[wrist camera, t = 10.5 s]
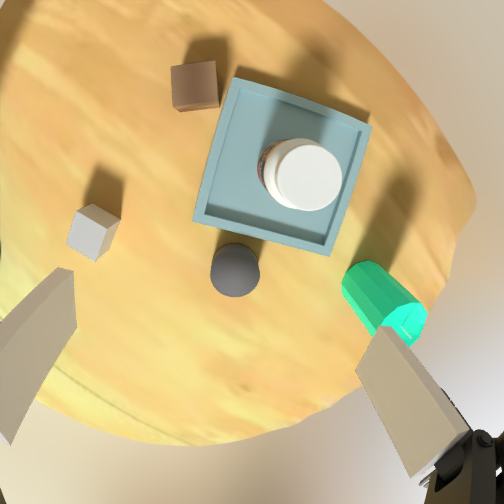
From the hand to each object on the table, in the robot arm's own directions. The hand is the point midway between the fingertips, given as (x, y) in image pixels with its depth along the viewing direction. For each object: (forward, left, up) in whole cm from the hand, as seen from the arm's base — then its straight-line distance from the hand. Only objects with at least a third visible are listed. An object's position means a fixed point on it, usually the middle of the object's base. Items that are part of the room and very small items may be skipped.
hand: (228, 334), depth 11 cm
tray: (+4, +6, -20) cm, 22 cm away
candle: (+18, -4, -20) cm, 27 cm away
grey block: (-14, -5, -20) cm, 25 cm away
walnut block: (-7, +12, -20) cm, 24 cm away
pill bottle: (+4, +6, -20) cm, 21 cm away
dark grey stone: (+2, -5, -20) cm, 21 cm away
